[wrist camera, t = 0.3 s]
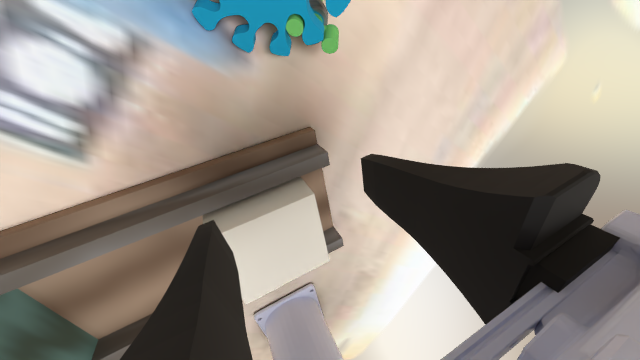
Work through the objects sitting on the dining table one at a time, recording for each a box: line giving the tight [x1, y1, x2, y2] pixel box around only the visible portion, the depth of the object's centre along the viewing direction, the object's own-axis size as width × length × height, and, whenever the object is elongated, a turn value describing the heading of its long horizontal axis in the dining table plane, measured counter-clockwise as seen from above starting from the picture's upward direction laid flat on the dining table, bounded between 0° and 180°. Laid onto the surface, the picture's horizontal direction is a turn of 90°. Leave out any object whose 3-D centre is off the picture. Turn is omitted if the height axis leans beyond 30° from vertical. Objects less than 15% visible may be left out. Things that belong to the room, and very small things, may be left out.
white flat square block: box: [203, 177, 330, 305], centre depth 20 cm, size 8×8×4 cm
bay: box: [0, 127, 343, 360], centre depth 19 cm, size 14×24×5 cm, turn 101°
